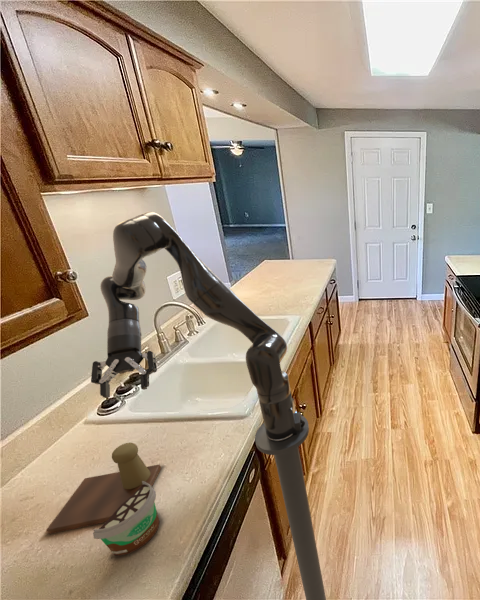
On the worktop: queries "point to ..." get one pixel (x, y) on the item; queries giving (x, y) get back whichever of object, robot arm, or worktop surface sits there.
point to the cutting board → (96, 501)
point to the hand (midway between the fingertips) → (125, 393)
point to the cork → (130, 465)
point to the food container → (131, 523)
